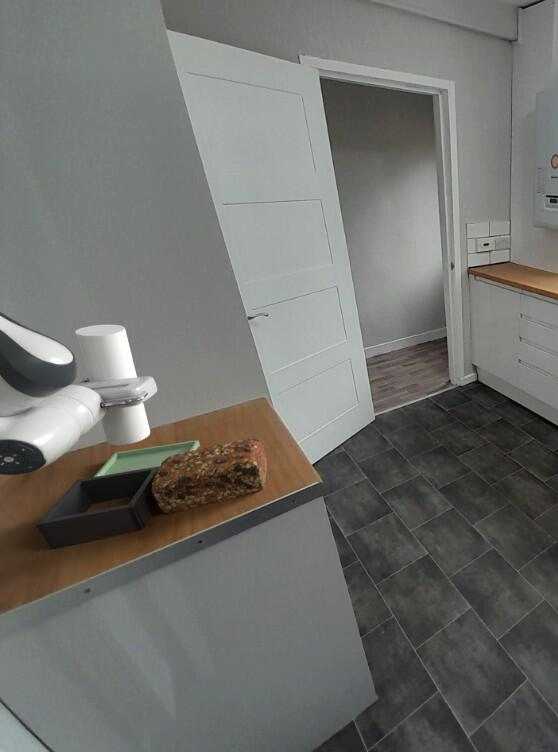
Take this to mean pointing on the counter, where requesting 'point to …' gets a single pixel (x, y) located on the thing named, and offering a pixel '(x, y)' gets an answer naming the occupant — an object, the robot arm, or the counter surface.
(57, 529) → the basket
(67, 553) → the counter surface
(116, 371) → the cylindrical container
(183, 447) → the tray
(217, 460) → the bread
